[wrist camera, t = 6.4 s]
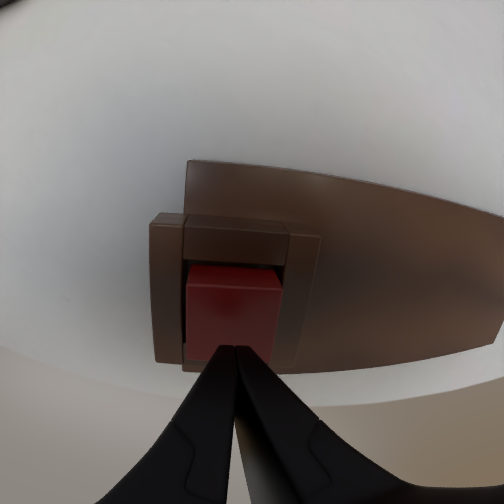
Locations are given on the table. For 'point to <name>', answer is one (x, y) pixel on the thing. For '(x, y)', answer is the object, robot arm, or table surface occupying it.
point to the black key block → (5, 2)
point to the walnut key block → (333, 266)
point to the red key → (231, 309)
